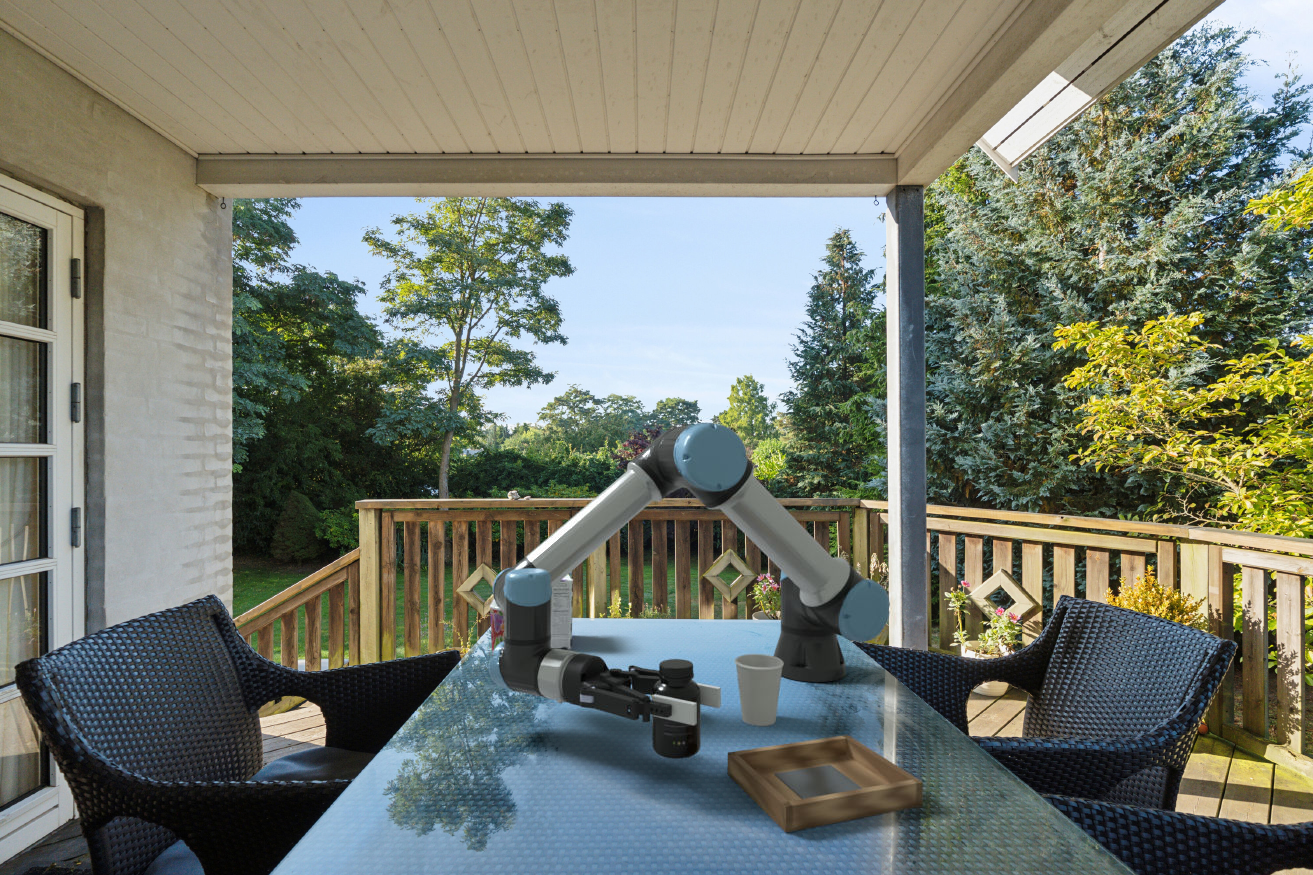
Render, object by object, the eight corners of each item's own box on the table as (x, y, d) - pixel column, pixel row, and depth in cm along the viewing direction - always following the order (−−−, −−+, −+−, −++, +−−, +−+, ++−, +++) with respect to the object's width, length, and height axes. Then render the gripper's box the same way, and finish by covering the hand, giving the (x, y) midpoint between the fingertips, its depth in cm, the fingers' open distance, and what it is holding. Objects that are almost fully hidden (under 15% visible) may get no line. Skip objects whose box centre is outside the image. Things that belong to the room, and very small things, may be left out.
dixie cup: (740, 708, 121) (740, 651, 122) (787, 714, 118) (787, 656, 119) (729, 724, 113) (729, 664, 114) (779, 731, 111) (779, 669, 111)
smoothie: (536, 666, 145) (537, 572, 146) (516, 678, 137) (517, 578, 138) (502, 662, 148) (504, 570, 148) (480, 673, 140) (482, 576, 141)
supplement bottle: (650, 740, 98) (650, 656, 99) (696, 739, 99) (696, 655, 99) (654, 761, 91) (654, 670, 92) (704, 759, 92) (704, 669, 92)
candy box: (542, 636, 171) (544, 570, 172) (566, 635, 172) (567, 569, 173) (547, 650, 157) (548, 579, 158) (572, 649, 159) (573, 578, 160)
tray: (848, 754, 102) (848, 734, 102) (922, 805, 87) (922, 781, 87) (727, 774, 95) (727, 752, 95) (785, 832, 80) (785, 806, 80)
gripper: (611, 684, 113) (738, 710, 101) (531, 723, 96) (672, 760, 84) (611, 639, 113) (737, 659, 101) (532, 669, 96) (671, 699, 84)
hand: (707, 705), depth 93 cm, fingers closed on supplement bottle, 7 cm apart
